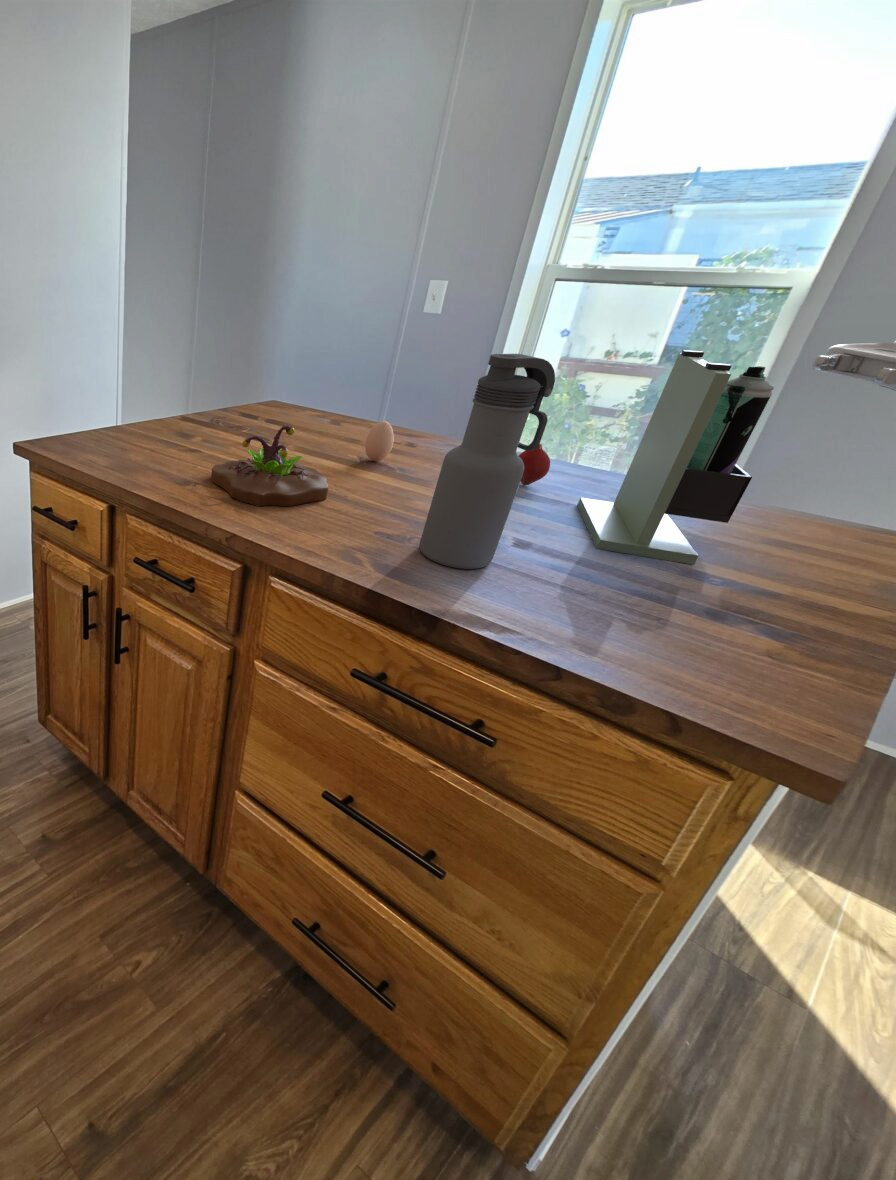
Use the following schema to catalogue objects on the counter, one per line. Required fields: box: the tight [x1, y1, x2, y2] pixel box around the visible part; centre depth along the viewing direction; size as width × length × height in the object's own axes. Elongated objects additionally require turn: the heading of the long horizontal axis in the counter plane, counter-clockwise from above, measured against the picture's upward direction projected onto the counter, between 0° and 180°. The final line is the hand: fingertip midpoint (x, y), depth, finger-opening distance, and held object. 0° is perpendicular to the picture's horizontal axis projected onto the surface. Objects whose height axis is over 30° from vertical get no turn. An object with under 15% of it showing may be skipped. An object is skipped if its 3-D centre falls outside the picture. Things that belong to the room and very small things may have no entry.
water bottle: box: [418, 353, 556, 570], centre depth 89 cm, size 10×10×28 cm
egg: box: [364, 420, 395, 462], centre depth 133 cm, size 5×5×8 cm
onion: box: [518, 443, 551, 486], centre depth 122 cm, size 6×6×8 cm
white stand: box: [576, 349, 753, 566], centre depth 98 cm, size 16×20×27 cm
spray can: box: [687, 365, 775, 474], centre depth 95 cm, size 6×6×20 cm
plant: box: [210, 424, 329, 507], centre depth 118 cm, size 20×20×11 cm
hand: (848, 369), depth 89 cm, fingers open, 8 cm apart
